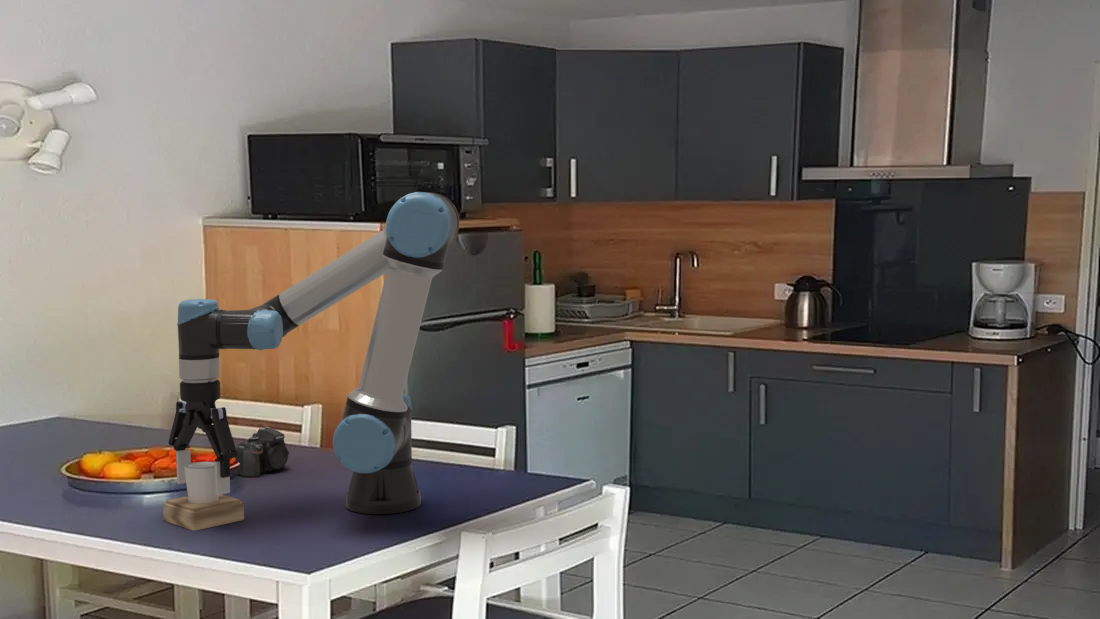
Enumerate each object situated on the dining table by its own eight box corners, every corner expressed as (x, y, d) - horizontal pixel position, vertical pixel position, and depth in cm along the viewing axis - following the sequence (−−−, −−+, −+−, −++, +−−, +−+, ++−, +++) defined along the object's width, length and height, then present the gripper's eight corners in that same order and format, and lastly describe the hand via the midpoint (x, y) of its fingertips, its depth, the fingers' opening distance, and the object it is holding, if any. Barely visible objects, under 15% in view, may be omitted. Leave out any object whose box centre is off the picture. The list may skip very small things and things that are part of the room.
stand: (244, 519, 247) (243, 499, 247) (194, 530, 239) (193, 510, 239) (212, 510, 254) (212, 490, 254) (163, 520, 246) (162, 500, 246)
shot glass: (177, 502, 244) (176, 466, 244) (200, 494, 251) (199, 459, 250) (207, 505, 242) (206, 469, 241) (229, 497, 248) (228, 462, 248)
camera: (271, 479, 282) (270, 434, 281) (230, 477, 284) (229, 433, 283) (297, 466, 295) (296, 424, 294) (258, 464, 297) (257, 422, 296)
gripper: (253, 383, 238) (256, 494, 240) (182, 371, 255) (185, 475, 257) (219, 388, 233) (222, 502, 235) (148, 375, 250) (151, 481, 252)
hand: (203, 488), depth 246 cm, fingers open, 13 cm apart
